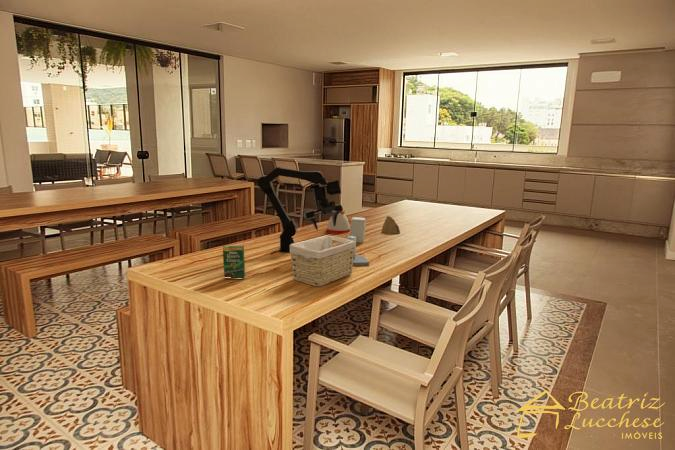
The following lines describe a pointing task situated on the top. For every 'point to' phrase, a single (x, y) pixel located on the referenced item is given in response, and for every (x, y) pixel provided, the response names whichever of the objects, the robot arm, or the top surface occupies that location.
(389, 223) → the rock
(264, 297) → the top surface
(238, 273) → the coffee box
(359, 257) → the shelf board
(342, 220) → the kitchen timer
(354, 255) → the white dome-topped cylinder
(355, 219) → the supplement box
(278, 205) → the robot arm
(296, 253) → the storage basket
